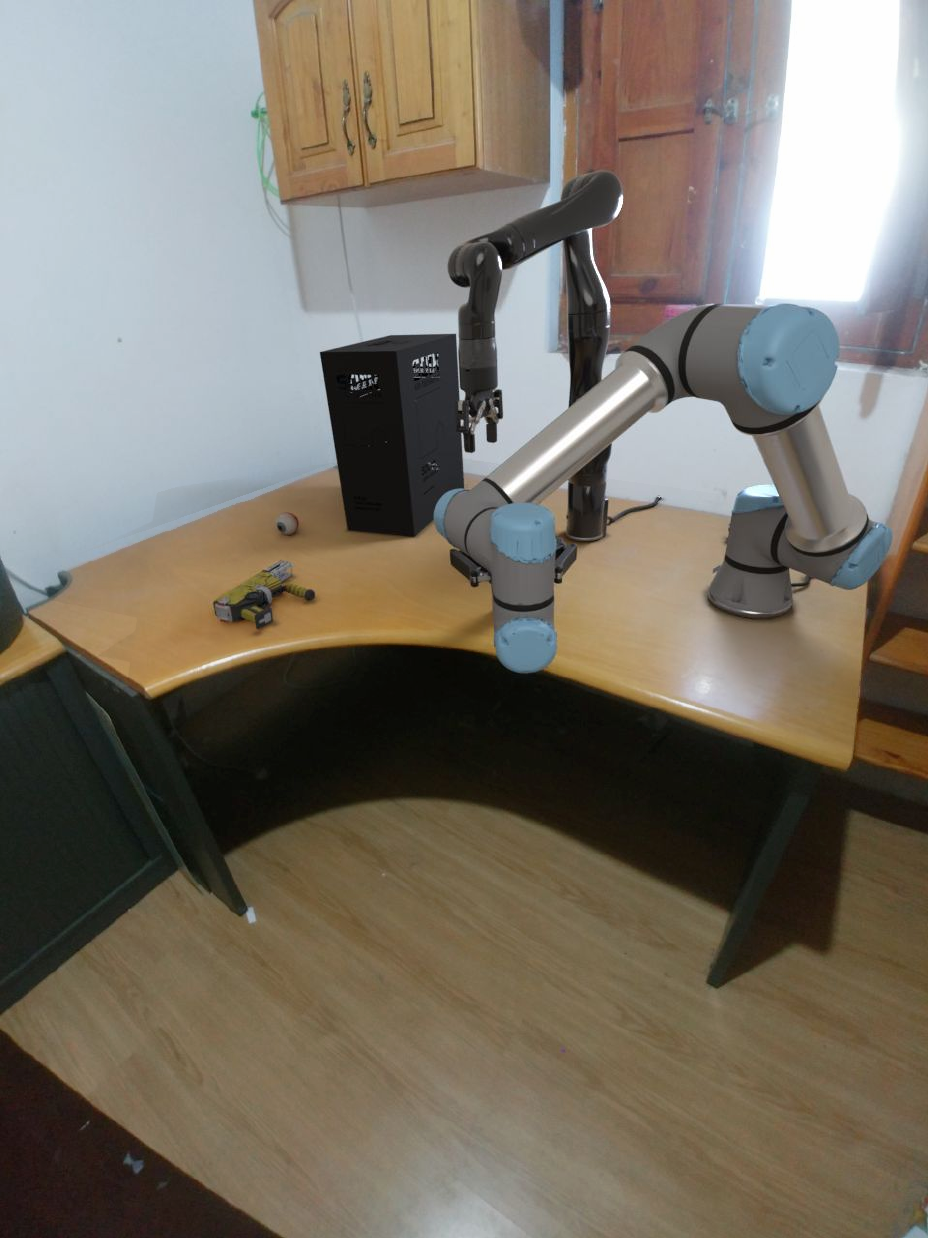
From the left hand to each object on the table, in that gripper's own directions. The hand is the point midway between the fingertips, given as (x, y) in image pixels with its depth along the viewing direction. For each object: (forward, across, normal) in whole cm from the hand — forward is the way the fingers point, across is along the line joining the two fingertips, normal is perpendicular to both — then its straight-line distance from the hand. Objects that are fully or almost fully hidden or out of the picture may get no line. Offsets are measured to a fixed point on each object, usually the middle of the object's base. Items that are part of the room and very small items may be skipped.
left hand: (481, 447), depth 125 cm
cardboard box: (+28, -24, -42) cm, 56 cm away
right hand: (+8, +23, +20) cm, 31 cm away
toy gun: (+28, +35, -31) cm, 55 cm away
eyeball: (+28, +6, -60) cm, 66 cm away
